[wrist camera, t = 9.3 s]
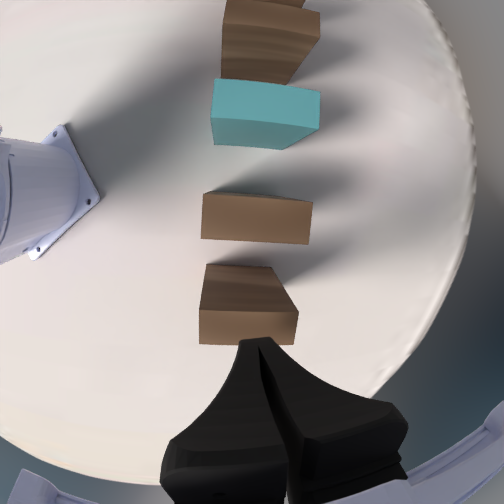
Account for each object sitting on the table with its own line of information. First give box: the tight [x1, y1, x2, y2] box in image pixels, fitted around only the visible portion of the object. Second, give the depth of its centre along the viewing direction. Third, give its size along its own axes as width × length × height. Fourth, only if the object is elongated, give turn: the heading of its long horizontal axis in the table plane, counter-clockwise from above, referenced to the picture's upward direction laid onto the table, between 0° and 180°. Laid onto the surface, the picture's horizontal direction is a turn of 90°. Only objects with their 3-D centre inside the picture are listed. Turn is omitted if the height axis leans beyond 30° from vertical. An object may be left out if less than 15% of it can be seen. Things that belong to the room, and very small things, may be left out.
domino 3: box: [201, 191, 313, 245], centre depth 16 cm, size 2×5×8 cm, turn 85°
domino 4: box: [199, 264, 299, 345], centre depth 17 cm, size 2×5×8 cm, turn 86°
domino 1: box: [221, 0, 320, 85], centre depth 14 cm, size 2×5×8 cm, turn 86°
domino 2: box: [210, 79, 320, 150], centre depth 15 cm, size 2×5×8 cm, turn 86°
